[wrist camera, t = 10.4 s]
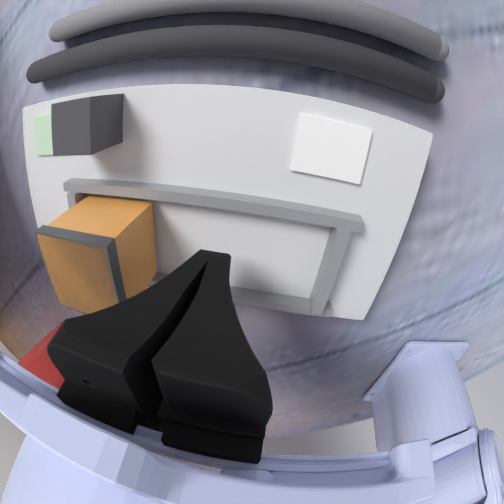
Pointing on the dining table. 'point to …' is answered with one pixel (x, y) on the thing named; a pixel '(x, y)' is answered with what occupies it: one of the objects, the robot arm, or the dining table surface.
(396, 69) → the cord
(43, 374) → the flower pot
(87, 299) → the lever
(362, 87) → the dining table surface
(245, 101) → the white base panel
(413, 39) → the cord
